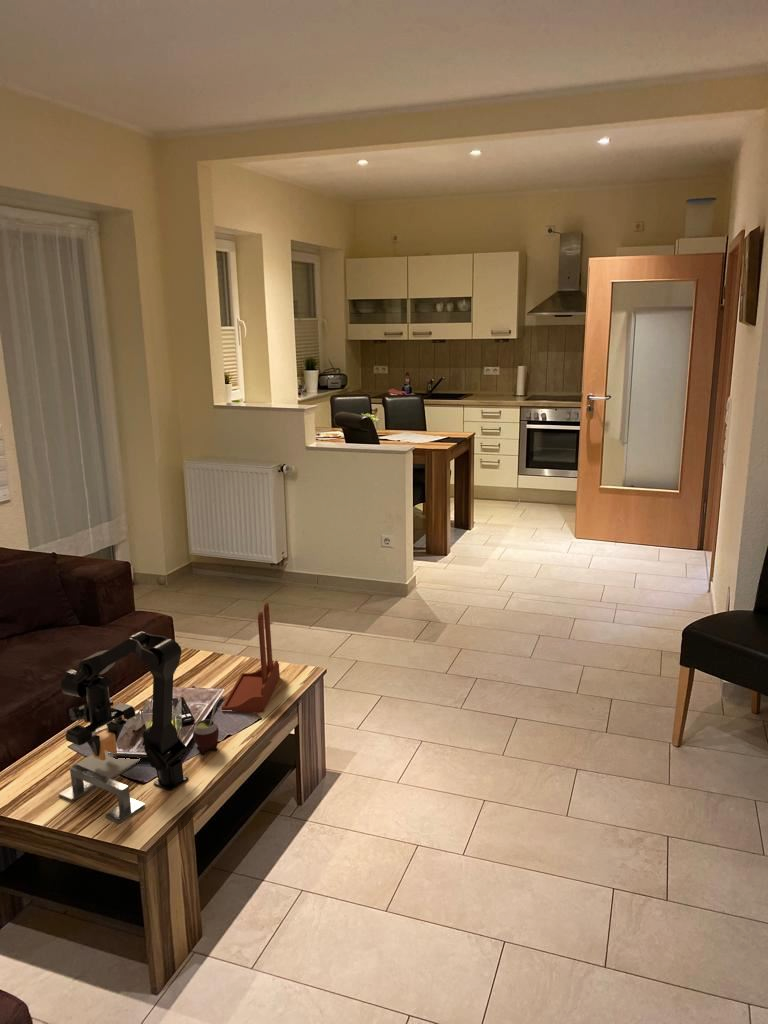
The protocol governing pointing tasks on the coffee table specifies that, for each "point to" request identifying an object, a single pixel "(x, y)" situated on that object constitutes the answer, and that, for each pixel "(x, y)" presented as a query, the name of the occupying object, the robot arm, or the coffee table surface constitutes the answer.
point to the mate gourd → (206, 734)
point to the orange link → (106, 744)
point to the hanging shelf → (256, 676)
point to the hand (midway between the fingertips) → (104, 751)
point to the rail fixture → (89, 780)
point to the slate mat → (107, 765)
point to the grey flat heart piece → (135, 717)
